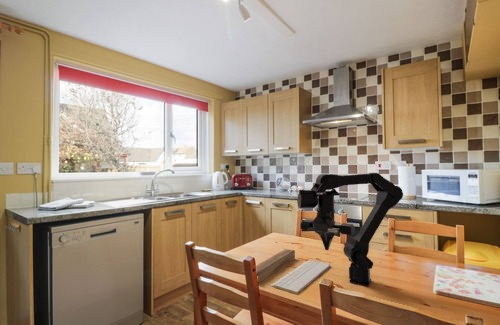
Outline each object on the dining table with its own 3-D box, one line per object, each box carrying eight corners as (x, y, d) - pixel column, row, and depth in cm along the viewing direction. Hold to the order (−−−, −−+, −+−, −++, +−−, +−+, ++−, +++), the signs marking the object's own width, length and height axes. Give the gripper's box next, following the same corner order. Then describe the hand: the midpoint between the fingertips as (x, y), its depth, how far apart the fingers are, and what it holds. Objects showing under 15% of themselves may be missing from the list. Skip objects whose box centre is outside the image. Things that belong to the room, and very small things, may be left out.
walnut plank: (294, 258, 121) (294, 250, 121) (258, 283, 95) (257, 272, 95) (285, 256, 124) (285, 248, 124) (247, 280, 98) (246, 270, 98)
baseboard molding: (267, 286, 94) (296, 296, 86) (267, 278, 94) (296, 287, 86) (304, 261, 118) (330, 267, 111) (304, 255, 118) (330, 261, 111)
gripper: (293, 208, 94) (294, 251, 94) (346, 212, 84) (347, 261, 83) (305, 205, 104) (306, 244, 103) (354, 208, 93) (355, 252, 93)
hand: (327, 250), depth 95 cm, fingers closed
